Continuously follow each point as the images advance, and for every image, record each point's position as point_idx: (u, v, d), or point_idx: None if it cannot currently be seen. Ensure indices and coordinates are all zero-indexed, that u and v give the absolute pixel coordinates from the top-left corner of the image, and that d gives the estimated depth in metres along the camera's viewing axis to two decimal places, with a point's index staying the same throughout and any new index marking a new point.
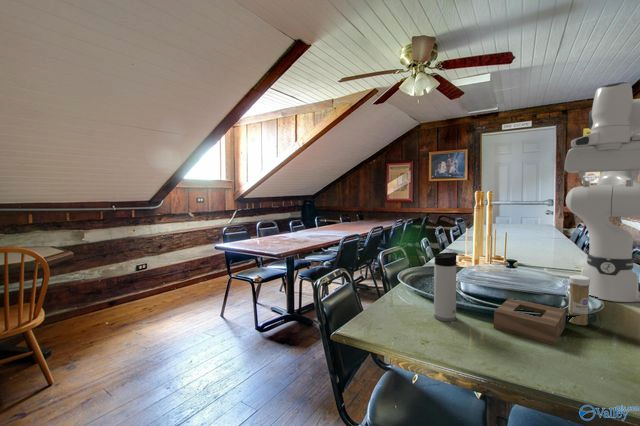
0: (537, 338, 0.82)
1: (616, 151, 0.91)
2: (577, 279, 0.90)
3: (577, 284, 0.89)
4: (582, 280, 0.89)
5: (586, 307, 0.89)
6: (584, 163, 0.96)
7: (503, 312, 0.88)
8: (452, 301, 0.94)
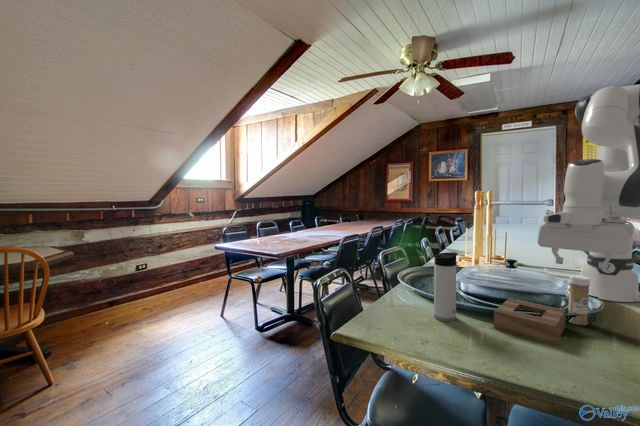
0: (537, 338, 0.82)
1: (588, 232, 0.87)
2: (577, 279, 0.90)
3: (577, 283, 0.89)
4: (582, 280, 0.89)
5: (586, 307, 0.89)
6: (556, 240, 0.92)
7: (503, 312, 0.88)
8: (452, 301, 0.94)
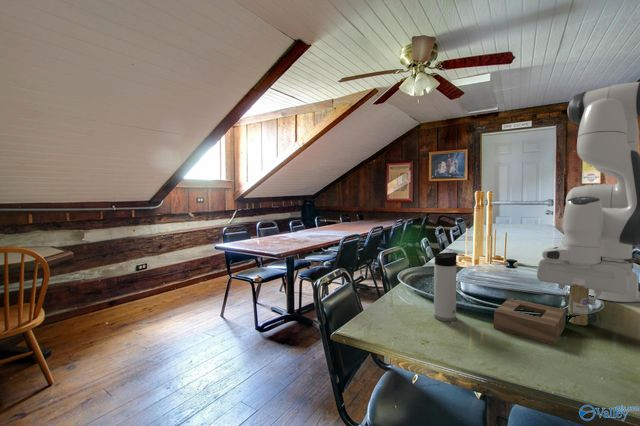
0: (537, 338, 0.82)
1: (587, 270, 0.88)
2: (577, 279, 0.90)
3: (577, 284, 0.89)
4: (582, 280, 0.89)
5: (586, 307, 0.89)
6: (555, 275, 0.93)
7: (503, 312, 0.88)
8: (452, 301, 0.94)
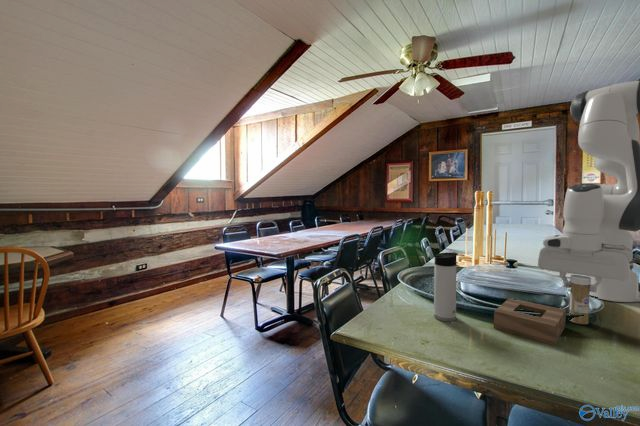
0: (537, 338, 0.82)
1: (588, 257, 0.88)
2: (579, 279, 0.90)
3: (579, 283, 0.90)
4: (584, 280, 0.89)
5: (587, 306, 0.90)
6: (556, 263, 0.93)
7: (503, 312, 0.88)
8: (452, 301, 0.94)
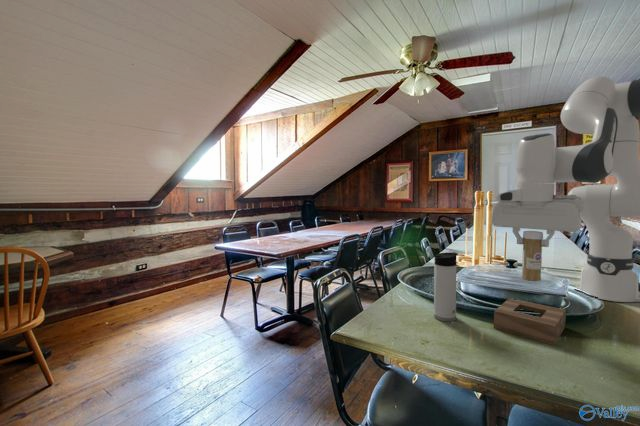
0: (537, 338, 0.82)
1: (539, 209, 0.84)
2: (530, 233, 0.86)
3: (530, 238, 0.86)
4: (535, 234, 0.85)
5: (539, 262, 0.86)
6: (509, 219, 0.89)
7: (503, 312, 0.88)
8: (452, 301, 0.94)
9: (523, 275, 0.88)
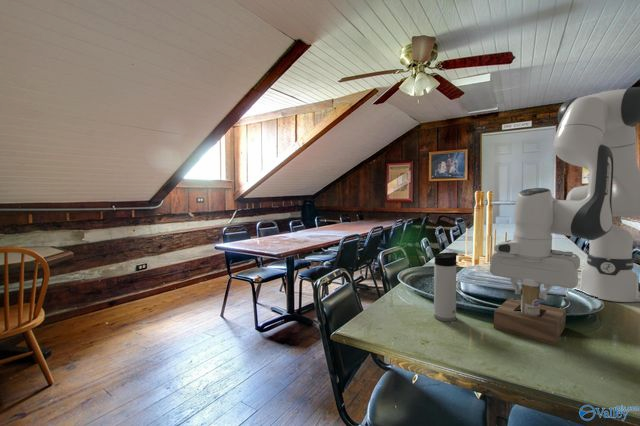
0: (537, 338, 0.82)
1: (537, 263, 0.85)
2: (528, 280, 0.87)
3: (528, 284, 0.87)
4: (533, 281, 0.86)
5: (537, 308, 0.87)
6: (507, 269, 0.91)
7: (503, 312, 0.88)
8: (452, 301, 0.94)
9: None
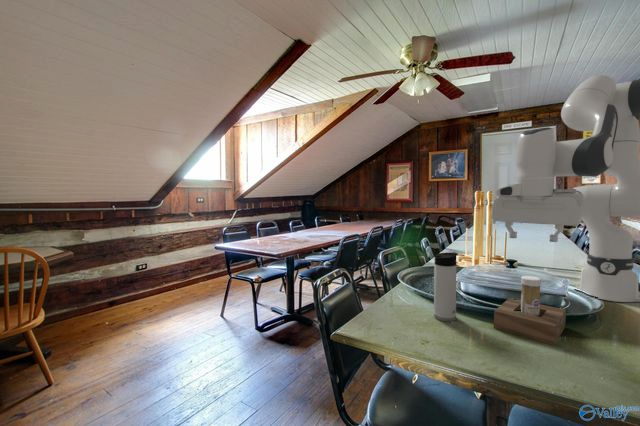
0: (537, 338, 0.82)
1: (539, 204, 0.84)
2: (528, 280, 0.87)
3: (529, 284, 0.87)
4: (533, 281, 0.86)
5: (537, 308, 0.87)
6: (509, 213, 0.89)
7: (503, 312, 0.88)
8: (452, 301, 0.94)
9: None
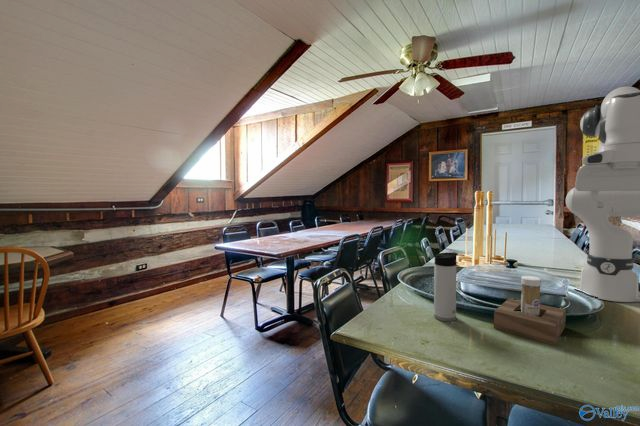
0: (537, 338, 0.82)
1: (633, 170, 0.82)
2: (528, 280, 0.87)
3: (529, 284, 0.87)
4: (533, 281, 0.86)
5: (537, 308, 0.87)
6: (597, 182, 0.87)
7: (503, 312, 0.88)
8: (452, 301, 0.94)
9: None
